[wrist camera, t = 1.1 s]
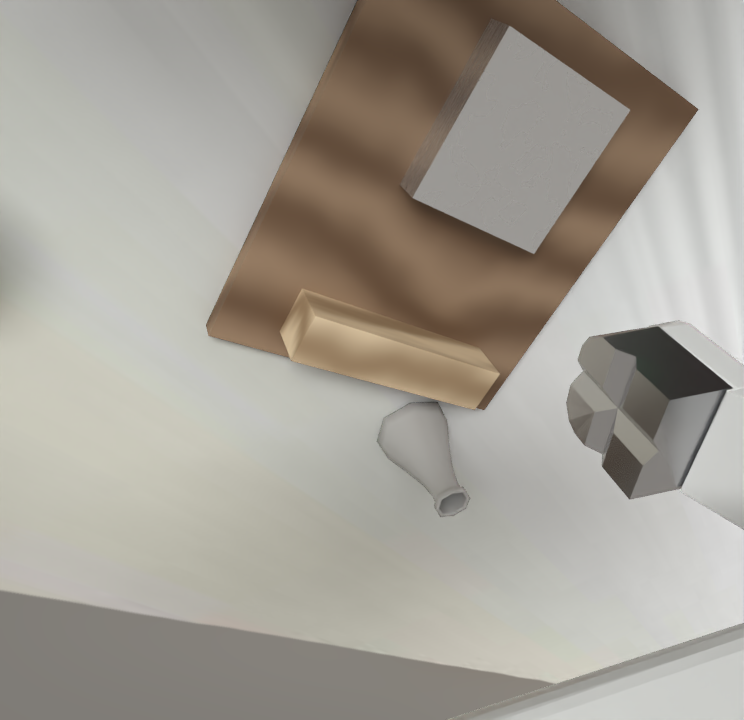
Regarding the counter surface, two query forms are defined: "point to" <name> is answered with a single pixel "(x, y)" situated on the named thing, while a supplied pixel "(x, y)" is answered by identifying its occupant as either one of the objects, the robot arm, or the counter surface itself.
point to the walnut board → (418, 220)
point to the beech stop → (385, 351)
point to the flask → (424, 453)
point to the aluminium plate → (512, 139)
